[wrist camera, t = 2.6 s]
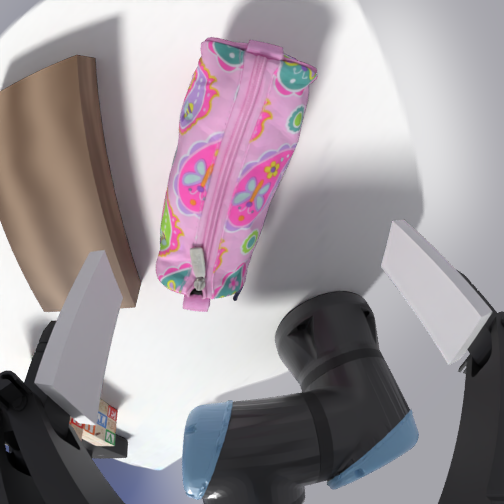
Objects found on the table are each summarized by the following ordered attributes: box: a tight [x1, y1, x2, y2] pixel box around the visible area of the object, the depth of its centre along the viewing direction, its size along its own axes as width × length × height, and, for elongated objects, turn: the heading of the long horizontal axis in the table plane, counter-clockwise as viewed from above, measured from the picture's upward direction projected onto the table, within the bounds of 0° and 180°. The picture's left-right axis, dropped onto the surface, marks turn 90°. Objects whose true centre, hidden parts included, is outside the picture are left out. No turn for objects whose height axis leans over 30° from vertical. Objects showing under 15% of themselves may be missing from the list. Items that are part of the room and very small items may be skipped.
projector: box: [81, 435, 128, 458], centre depth 49 cm, size 19×17×20 cm
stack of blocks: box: [69, 399, 118, 446], centre depth 38 cm, size 21×6×12 cm, turn 20°
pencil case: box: [156, 37, 317, 312], centre depth 21 cm, size 21×9×9 cm, turn 163°
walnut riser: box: [0, 55, 141, 312], centre depth 22 cm, size 13×25×4 cm, turn 2°
